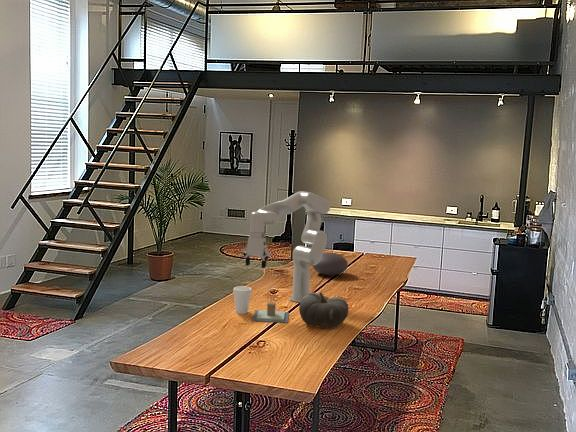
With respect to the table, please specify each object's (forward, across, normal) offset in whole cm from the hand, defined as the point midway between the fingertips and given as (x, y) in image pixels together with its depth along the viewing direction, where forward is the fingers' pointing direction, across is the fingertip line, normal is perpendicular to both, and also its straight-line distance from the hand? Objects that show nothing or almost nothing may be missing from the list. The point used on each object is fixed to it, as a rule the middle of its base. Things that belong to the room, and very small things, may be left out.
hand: (255, 266), depth 340 cm
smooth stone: (+23, 0, -104) cm, 107 cm away
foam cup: (+24, +3, +8) cm, 26 cm away
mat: (+24, -14, +6) cm, 28 cm away
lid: (+23, -14, +6) cm, 28 cm away
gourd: (+24, -42, +2) cm, 48 cm away
